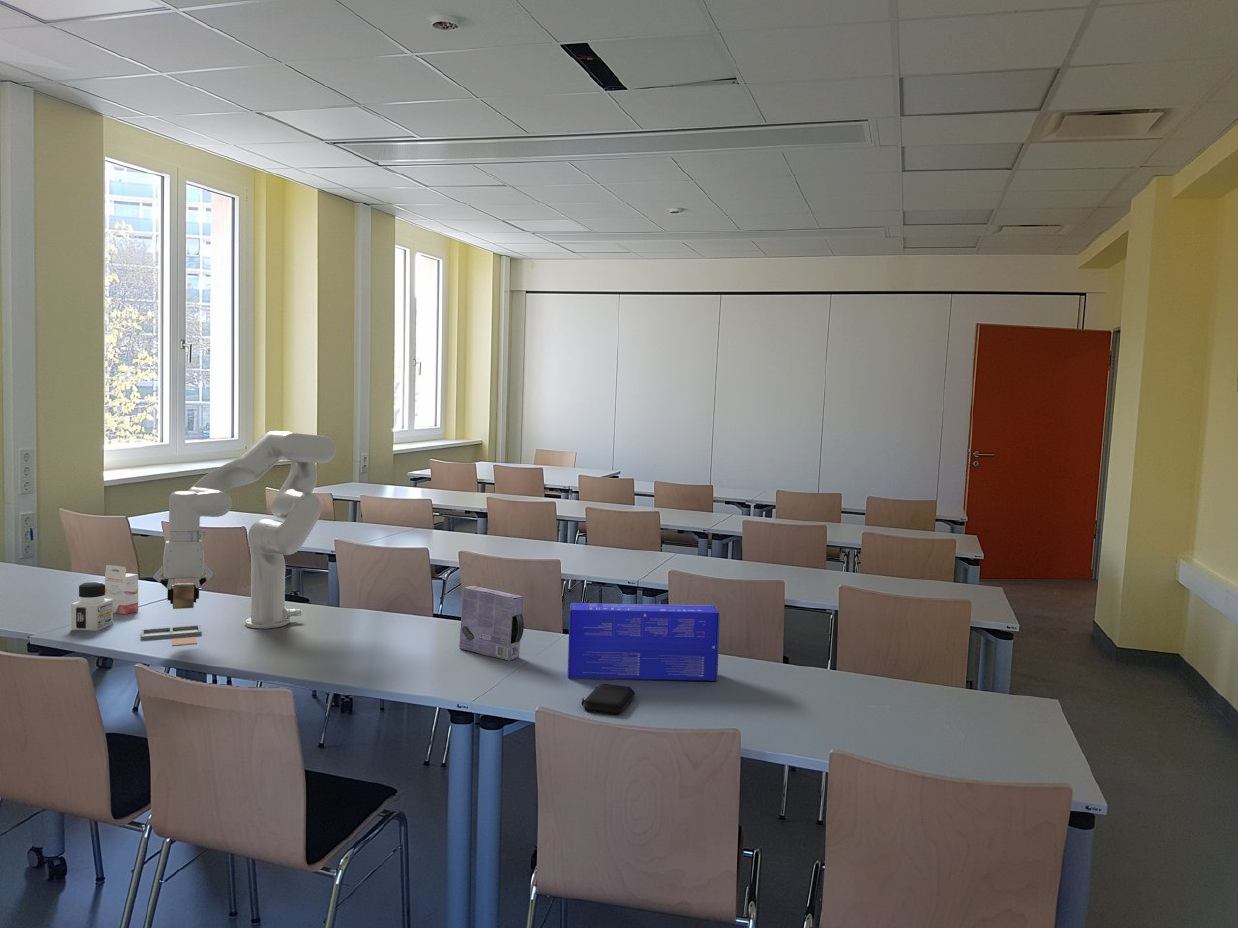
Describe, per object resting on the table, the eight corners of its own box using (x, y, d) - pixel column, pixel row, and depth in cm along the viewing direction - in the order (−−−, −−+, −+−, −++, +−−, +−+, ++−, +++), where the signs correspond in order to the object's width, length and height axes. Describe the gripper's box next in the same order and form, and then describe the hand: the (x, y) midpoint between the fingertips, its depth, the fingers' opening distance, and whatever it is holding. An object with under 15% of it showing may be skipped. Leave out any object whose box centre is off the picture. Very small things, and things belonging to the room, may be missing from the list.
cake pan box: (523, 657, 241) (525, 594, 239) (512, 662, 236) (514, 597, 235) (469, 645, 250) (471, 584, 249) (458, 649, 246) (459, 587, 245)
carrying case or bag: (594, 692, 216) (576, 712, 202) (595, 680, 216) (576, 699, 202) (636, 697, 213) (620, 718, 199) (637, 685, 213) (621, 705, 199)
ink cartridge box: (139, 611, 273) (139, 564, 271) (126, 614, 268) (126, 567, 267) (117, 608, 275) (117, 562, 274) (104, 611, 270) (103, 564, 269)
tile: (195, 639, 246) (195, 636, 246) (196, 644, 240) (196, 642, 240) (171, 641, 243) (171, 638, 243) (172, 646, 238) (172, 644, 238)
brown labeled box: (192, 603, 244) (193, 582, 244) (193, 607, 239) (194, 585, 239) (172, 604, 242) (173, 583, 241) (173, 608, 237) (173, 586, 237)
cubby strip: (200, 629, 256) (200, 624, 256) (201, 636, 249) (201, 631, 249) (141, 633, 248) (141, 629, 248) (140, 641, 242) (140, 636, 241)
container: (97, 631, 249) (97, 586, 248) (70, 630, 249) (70, 585, 248) (113, 624, 257) (113, 580, 256) (87, 623, 257) (87, 579, 256)
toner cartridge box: (712, 672, 235) (716, 604, 233) (717, 683, 226) (721, 612, 225) (567, 669, 233) (569, 600, 231) (567, 679, 224) (569, 608, 223)
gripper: (217, 533, 247) (216, 597, 248) (148, 535, 239) (148, 601, 240) (219, 537, 240) (218, 603, 241) (148, 539, 232) (147, 607, 233)
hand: (183, 601), depth 240 cm, fingers closed on brown labeled box, 5 cm apart
